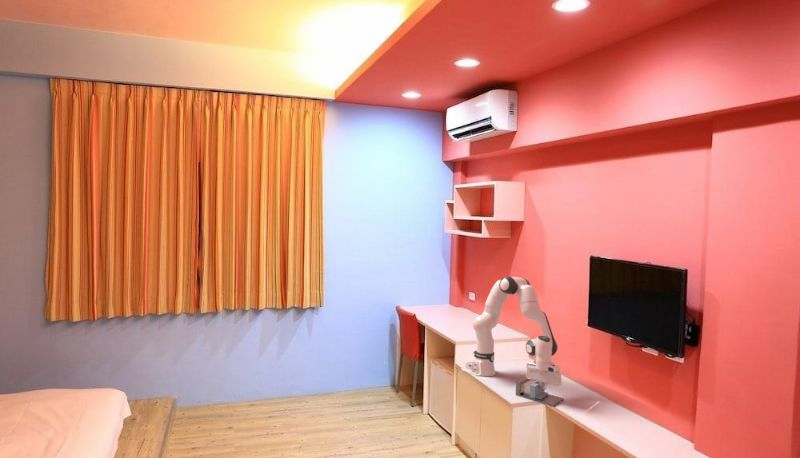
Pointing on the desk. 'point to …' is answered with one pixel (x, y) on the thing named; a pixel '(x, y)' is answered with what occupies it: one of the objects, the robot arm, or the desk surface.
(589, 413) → the desk surface
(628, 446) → the desk surface
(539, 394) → the free jaw
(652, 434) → the desk surface
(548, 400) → the vise base
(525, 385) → the steel block
